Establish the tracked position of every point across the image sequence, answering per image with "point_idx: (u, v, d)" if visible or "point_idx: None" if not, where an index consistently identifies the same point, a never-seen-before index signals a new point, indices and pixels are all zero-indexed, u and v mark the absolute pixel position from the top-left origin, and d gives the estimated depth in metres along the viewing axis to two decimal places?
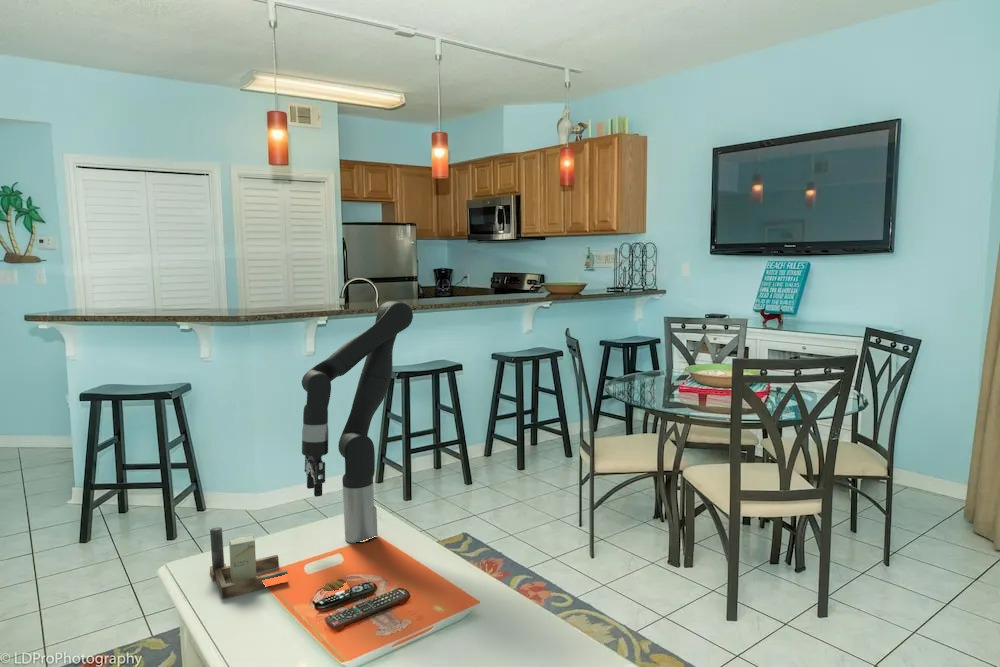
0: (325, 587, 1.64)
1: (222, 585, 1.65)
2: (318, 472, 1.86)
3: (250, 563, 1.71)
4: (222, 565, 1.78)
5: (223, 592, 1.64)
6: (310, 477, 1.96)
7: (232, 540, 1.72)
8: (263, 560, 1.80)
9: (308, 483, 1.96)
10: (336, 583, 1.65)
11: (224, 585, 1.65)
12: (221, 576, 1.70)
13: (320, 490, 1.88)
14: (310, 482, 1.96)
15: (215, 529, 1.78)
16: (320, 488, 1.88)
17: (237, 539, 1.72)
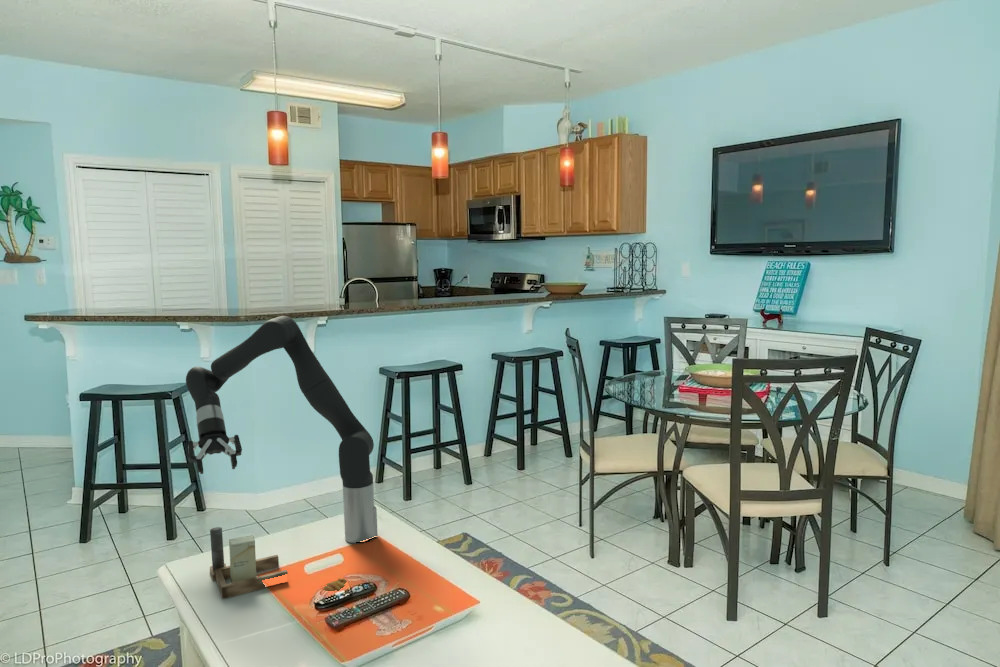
0: (326, 587, 1.63)
1: (222, 585, 1.65)
2: (188, 452, 1.88)
3: (250, 563, 1.71)
4: (222, 565, 1.78)
5: (223, 592, 1.64)
6: None
7: (232, 540, 1.72)
8: (263, 560, 1.80)
9: (231, 464, 1.90)
10: (337, 583, 1.65)
11: (224, 585, 1.65)
12: (221, 576, 1.70)
13: (197, 466, 1.85)
14: (231, 462, 1.90)
15: (215, 529, 1.78)
16: (197, 465, 1.85)
17: (237, 539, 1.72)
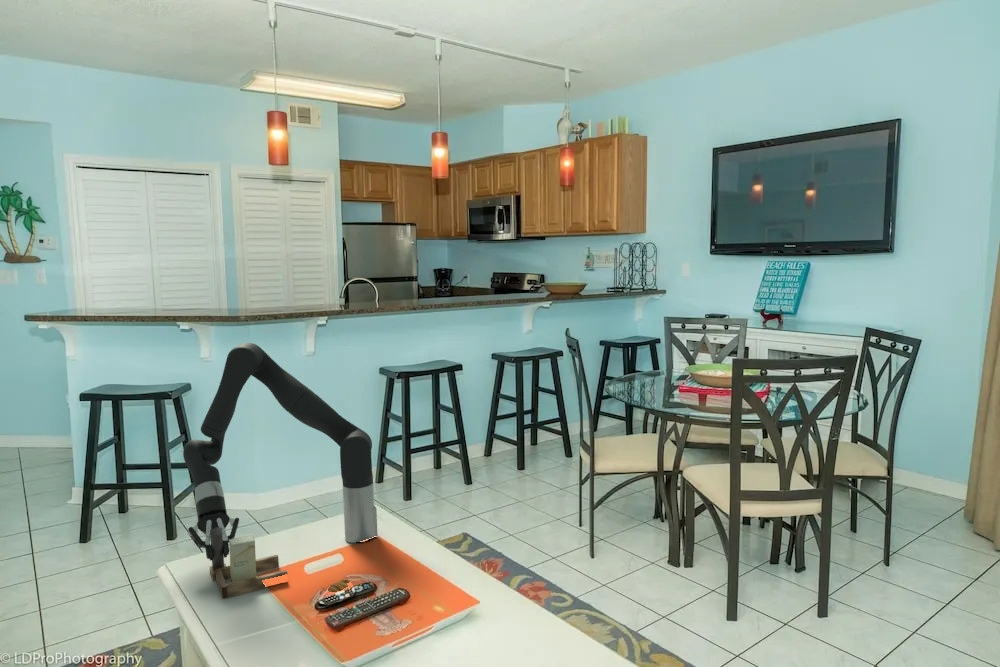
0: (330, 588, 1.63)
1: (222, 585, 1.65)
2: (192, 539, 1.78)
3: (250, 563, 1.71)
4: (222, 565, 1.78)
5: (223, 592, 1.64)
6: None
7: (232, 540, 1.72)
8: (263, 560, 1.80)
9: (223, 552, 1.79)
10: (341, 584, 1.64)
11: (224, 585, 1.65)
12: (221, 576, 1.70)
13: (206, 552, 1.76)
14: (223, 550, 1.78)
15: (215, 529, 1.78)
16: (206, 551, 1.76)
17: (237, 539, 1.72)
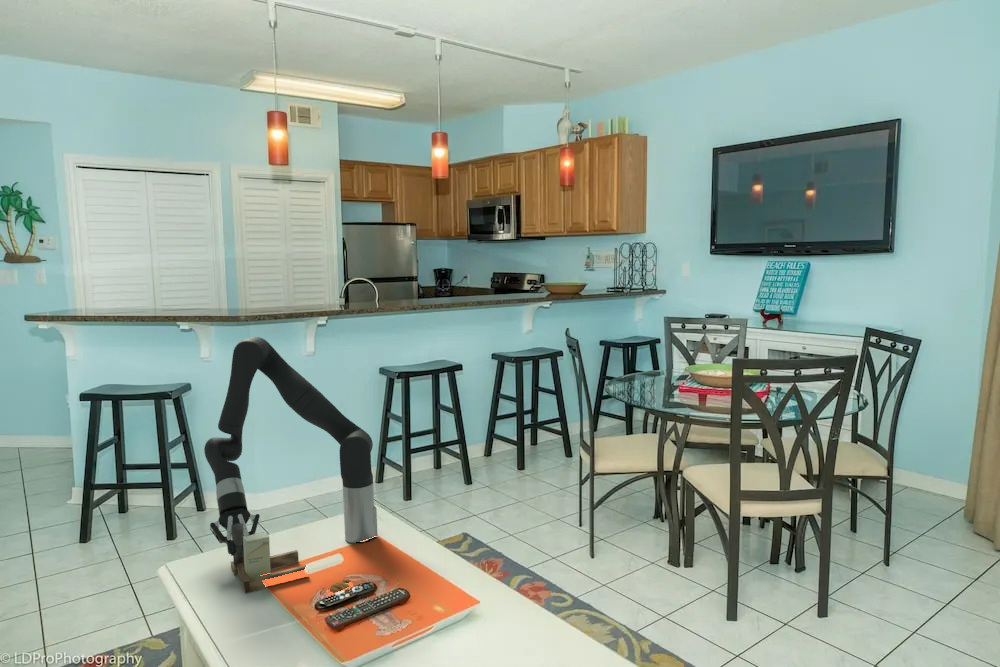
0: (332, 589, 1.62)
1: (245, 579, 1.68)
2: (214, 534, 1.81)
3: (265, 559, 1.73)
4: (243, 560, 1.81)
5: (246, 586, 1.67)
6: None
7: (246, 537, 1.73)
8: (283, 555, 1.83)
9: None
10: (342, 584, 1.64)
11: (247, 579, 1.68)
12: (243, 571, 1.73)
13: (227, 548, 1.79)
14: None
15: (236, 525, 1.80)
16: (227, 546, 1.79)
17: (251, 536, 1.74)
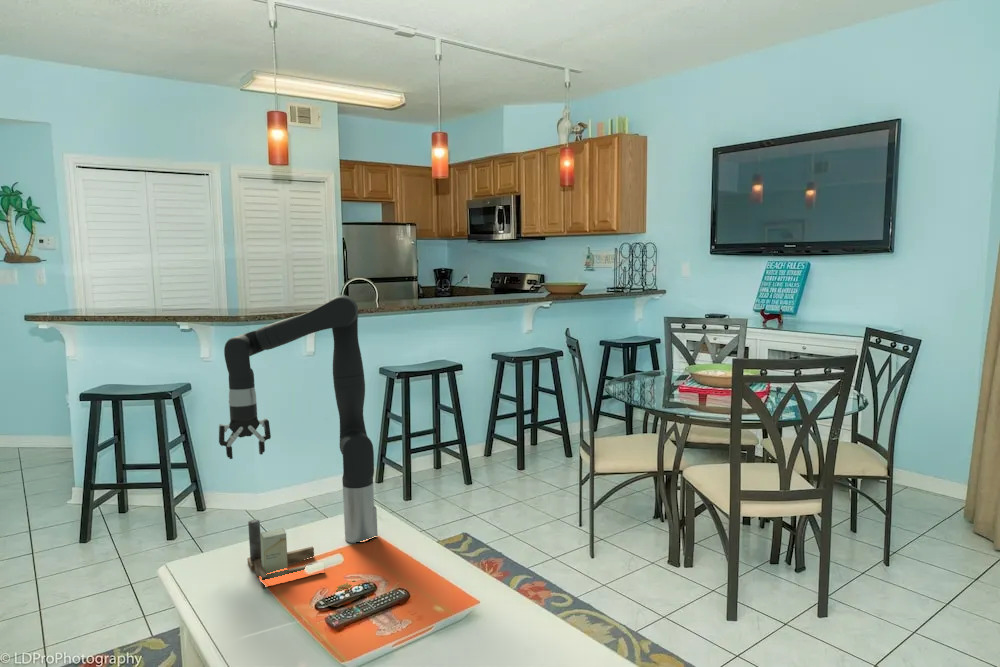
0: (339, 590, 1.62)
1: (263, 575, 1.70)
2: (219, 433, 1.90)
3: (282, 555, 1.76)
4: (260, 556, 1.83)
5: None
6: (259, 442, 1.96)
7: (263, 533, 1.76)
8: (299, 552, 1.85)
9: (259, 448, 1.96)
10: (349, 585, 1.63)
11: (265, 575, 1.70)
12: (260, 567, 1.75)
13: (226, 452, 1.91)
14: (259, 447, 1.96)
15: (253, 521, 1.83)
16: (226, 451, 1.91)
17: (268, 532, 1.76)
